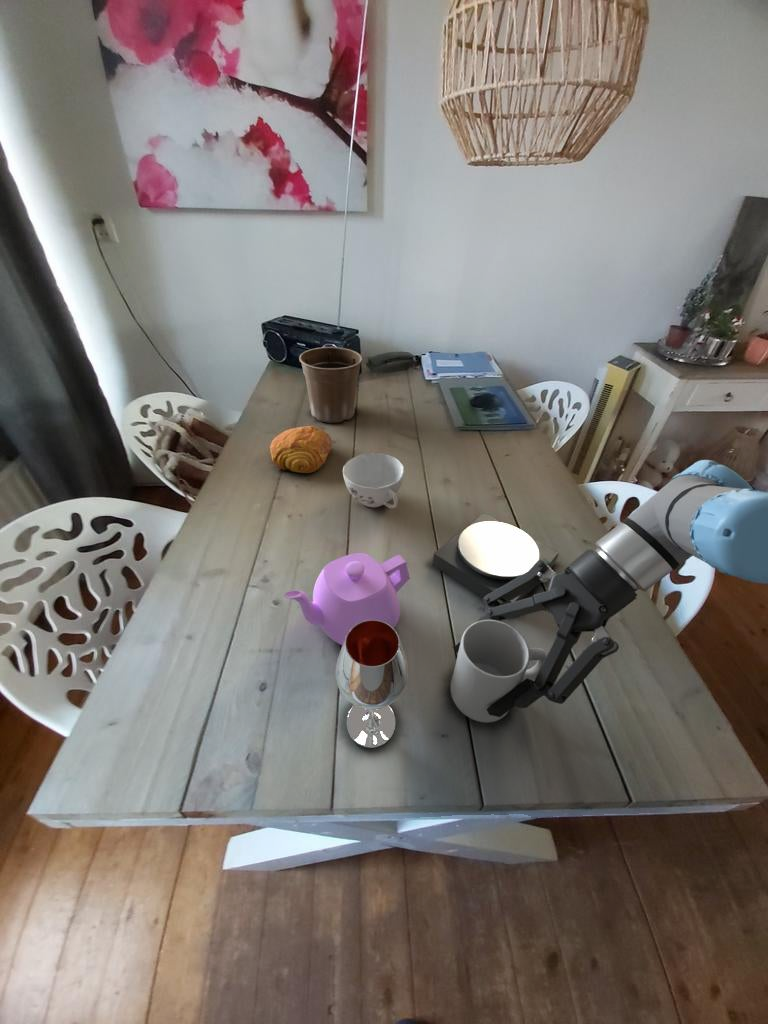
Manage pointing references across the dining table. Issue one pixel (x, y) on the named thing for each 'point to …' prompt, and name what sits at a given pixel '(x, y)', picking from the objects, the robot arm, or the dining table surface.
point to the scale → (476, 582)
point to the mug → (491, 667)
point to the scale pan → (498, 550)
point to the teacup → (374, 479)
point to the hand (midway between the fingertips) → (475, 680)
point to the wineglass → (371, 680)
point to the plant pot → (331, 382)
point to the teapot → (354, 594)
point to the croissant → (301, 449)
